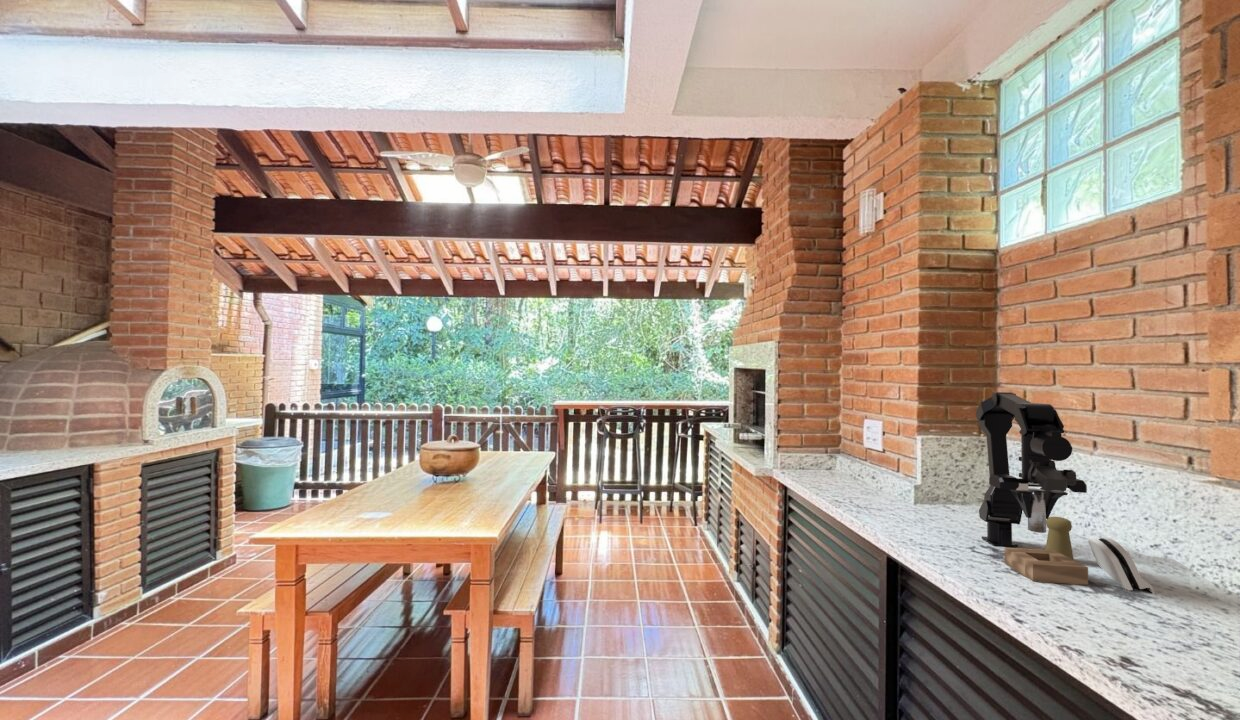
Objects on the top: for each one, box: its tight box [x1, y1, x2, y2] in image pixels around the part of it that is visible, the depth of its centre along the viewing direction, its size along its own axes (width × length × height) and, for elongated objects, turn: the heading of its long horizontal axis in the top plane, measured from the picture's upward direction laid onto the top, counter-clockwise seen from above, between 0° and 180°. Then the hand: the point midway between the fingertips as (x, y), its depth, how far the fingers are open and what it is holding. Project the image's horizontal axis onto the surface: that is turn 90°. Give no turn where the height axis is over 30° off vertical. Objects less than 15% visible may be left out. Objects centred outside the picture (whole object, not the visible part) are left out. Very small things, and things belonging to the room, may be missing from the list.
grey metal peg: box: [1027, 487, 1047, 534], centre depth 128 cm, size 4×4×10 cm
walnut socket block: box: [1003, 547, 1089, 586], centre depth 127 cm, size 12×12×4 cm
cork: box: [1044, 516, 1075, 561], centre depth 136 cm, size 6×6×11 cm
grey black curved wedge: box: [1088, 537, 1156, 594], centre depth 124 cm, size 17×5×10 cm, turn 154°
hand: (1036, 518), depth 128 cm, fingers closed on grey metal peg, 3 cm apart
